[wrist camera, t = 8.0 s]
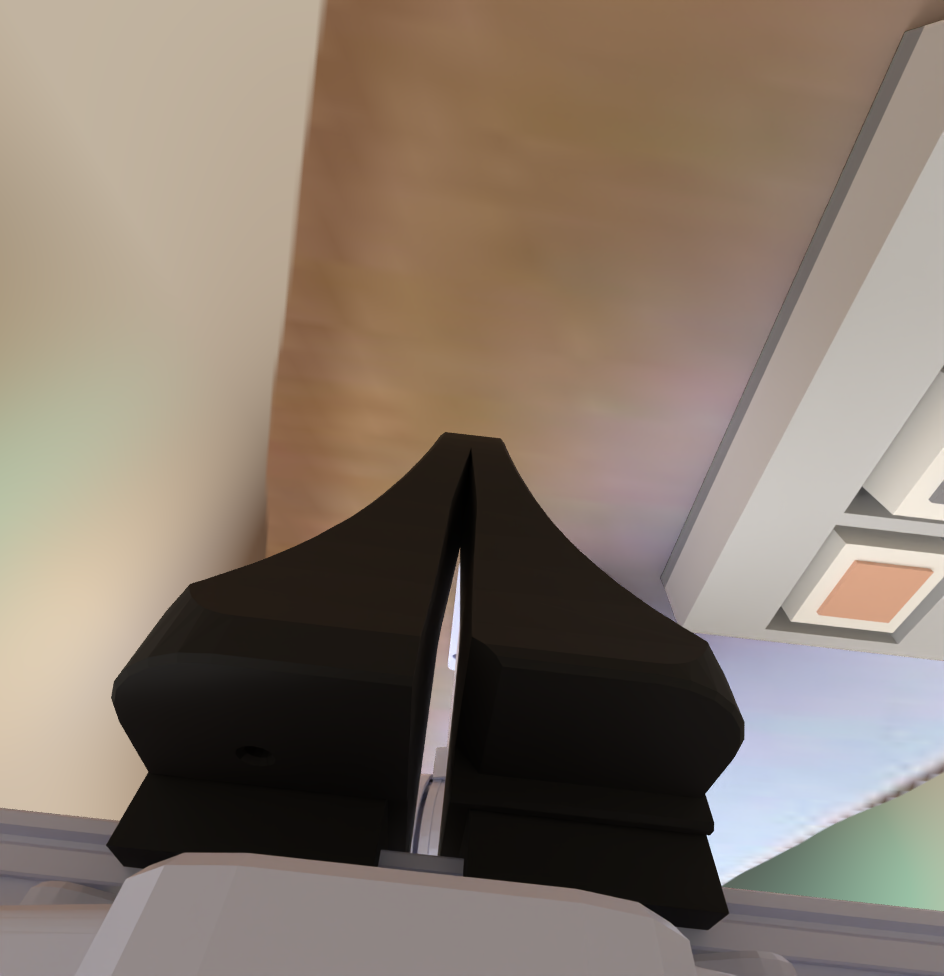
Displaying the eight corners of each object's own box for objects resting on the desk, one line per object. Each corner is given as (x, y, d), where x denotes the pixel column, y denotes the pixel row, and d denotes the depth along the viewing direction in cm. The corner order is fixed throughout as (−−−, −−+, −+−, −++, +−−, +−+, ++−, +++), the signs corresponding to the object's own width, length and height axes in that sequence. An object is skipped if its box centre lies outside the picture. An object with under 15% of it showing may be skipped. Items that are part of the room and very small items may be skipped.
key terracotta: (861, 594, 24) (895, 636, 22) (767, 583, 24) (792, 624, 22) (920, 520, 22) (966, 560, 20) (815, 508, 22) (848, 546, 20)
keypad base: (913, 606, 26) (965, 663, 23) (660, 577, 26) (680, 631, 23) (1383, 90, 14) (1619, 72, 11) (905, 31, 14) (1013, -3, 11)
